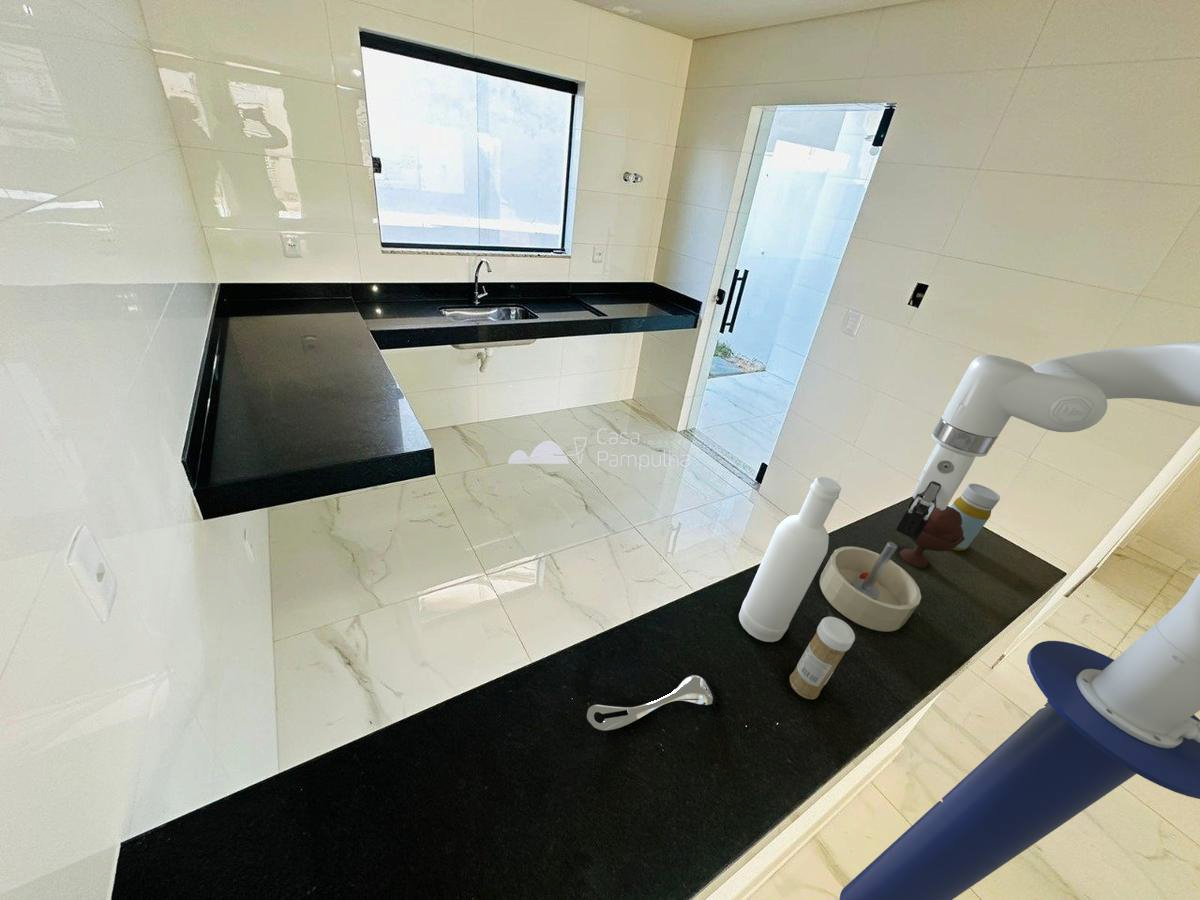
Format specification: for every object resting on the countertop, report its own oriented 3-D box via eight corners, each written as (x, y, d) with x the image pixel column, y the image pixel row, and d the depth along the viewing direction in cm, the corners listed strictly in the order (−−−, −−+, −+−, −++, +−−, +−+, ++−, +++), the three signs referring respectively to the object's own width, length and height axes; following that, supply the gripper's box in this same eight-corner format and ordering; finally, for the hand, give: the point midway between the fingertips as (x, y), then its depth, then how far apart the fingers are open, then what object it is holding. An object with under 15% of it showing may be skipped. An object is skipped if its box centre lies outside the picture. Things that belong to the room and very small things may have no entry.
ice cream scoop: (595, 727, 57) (584, 691, 61) (589, 743, 59) (579, 707, 62) (727, 695, 65) (710, 665, 68) (719, 710, 66) (703, 680, 70)
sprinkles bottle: (825, 694, 70) (863, 637, 63) (803, 704, 68) (841, 646, 61) (802, 668, 74) (836, 611, 67) (781, 677, 72) (814, 619, 65)
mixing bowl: (912, 601, 91) (928, 579, 88) (894, 647, 80) (911, 624, 77) (833, 557, 99) (845, 535, 96) (807, 593, 88) (819, 571, 85)
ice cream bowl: (948, 566, 102) (987, 513, 95) (926, 583, 96) (966, 528, 88) (901, 536, 109) (933, 485, 102) (878, 550, 103) (910, 497, 96)
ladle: (876, 594, 90) (908, 545, 83) (872, 609, 86) (905, 558, 80) (851, 581, 92) (880, 532, 86) (846, 595, 89) (876, 544, 82)
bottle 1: (756, 648, 76) (828, 503, 61) (729, 610, 82) (788, 470, 67) (793, 637, 79) (870, 496, 64) (764, 601, 85) (828, 465, 70)
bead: (875, 578, 92) (875, 572, 91) (871, 589, 91) (871, 582, 90) (861, 574, 94) (861, 568, 92) (857, 584, 93) (857, 578, 91)
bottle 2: (967, 543, 111) (1004, 493, 103) (963, 556, 106) (1001, 505, 98) (935, 528, 114) (968, 478, 107) (929, 540, 110) (963, 489, 102)
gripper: (986, 464, 63) (927, 557, 72) (996, 431, 75) (944, 513, 84) (925, 442, 67) (876, 532, 76) (944, 413, 79) (899, 494, 88)
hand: (912, 522), depth 80 cm, fingers open, 9 cm apart
